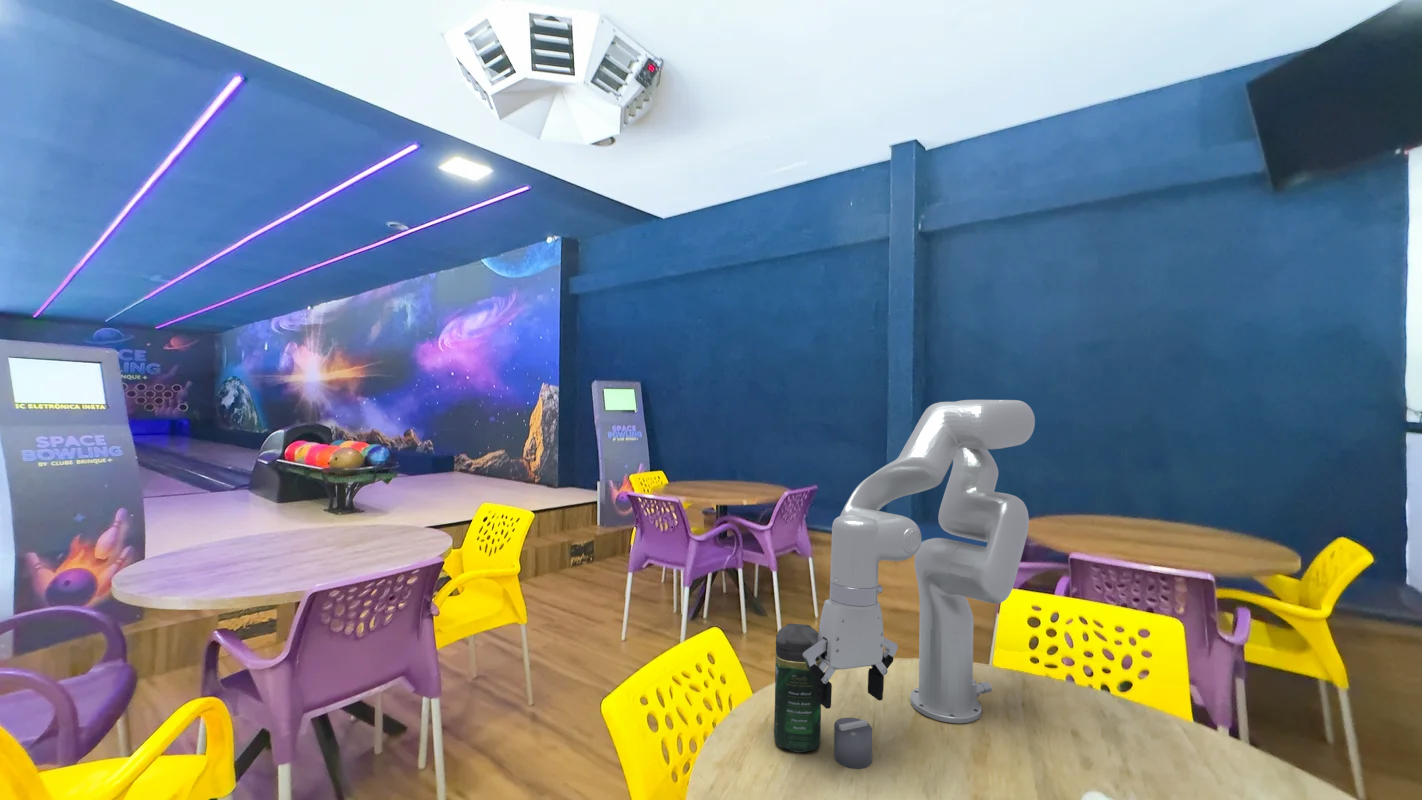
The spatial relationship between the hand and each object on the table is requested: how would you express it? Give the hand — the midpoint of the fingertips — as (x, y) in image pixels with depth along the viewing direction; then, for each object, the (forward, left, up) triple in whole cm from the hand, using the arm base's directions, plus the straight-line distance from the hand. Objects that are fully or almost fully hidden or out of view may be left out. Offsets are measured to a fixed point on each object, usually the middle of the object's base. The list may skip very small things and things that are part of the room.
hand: (849, 700), depth 98 cm
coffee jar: (+5, -8, -10) cm, 14 cm away
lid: (-1, 0, -10) cm, 10 cm away
